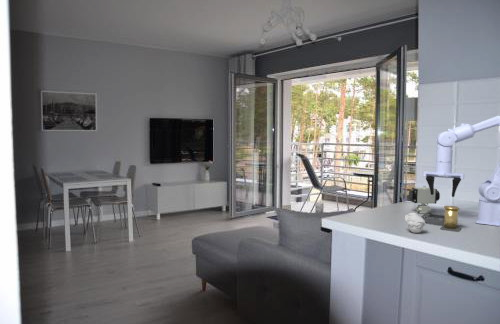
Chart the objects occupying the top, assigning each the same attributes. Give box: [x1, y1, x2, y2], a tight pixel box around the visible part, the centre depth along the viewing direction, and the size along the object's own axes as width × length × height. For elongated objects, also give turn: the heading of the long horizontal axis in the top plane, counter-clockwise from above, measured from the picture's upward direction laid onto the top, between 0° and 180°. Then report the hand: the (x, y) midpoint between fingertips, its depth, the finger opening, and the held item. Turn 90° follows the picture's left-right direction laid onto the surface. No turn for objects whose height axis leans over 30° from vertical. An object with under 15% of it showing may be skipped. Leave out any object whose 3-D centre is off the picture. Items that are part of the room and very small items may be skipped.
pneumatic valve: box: [408, 185, 441, 215], centre depth 171 cm, size 6×12×12 cm, turn 89°
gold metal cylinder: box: [443, 205, 460, 229], centre depth 143 cm, size 5×5×8 cm
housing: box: [420, 211, 445, 227], centre depth 155 cm, size 14×10×2 cm
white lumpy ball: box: [404, 212, 426, 234], centre depth 137 cm, size 6×7×7 cm
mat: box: [439, 225, 462, 233], centre depth 143 cm, size 6×6×1 cm
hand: (442, 195), depth 157 cm, fingers open, 7 cm apart
